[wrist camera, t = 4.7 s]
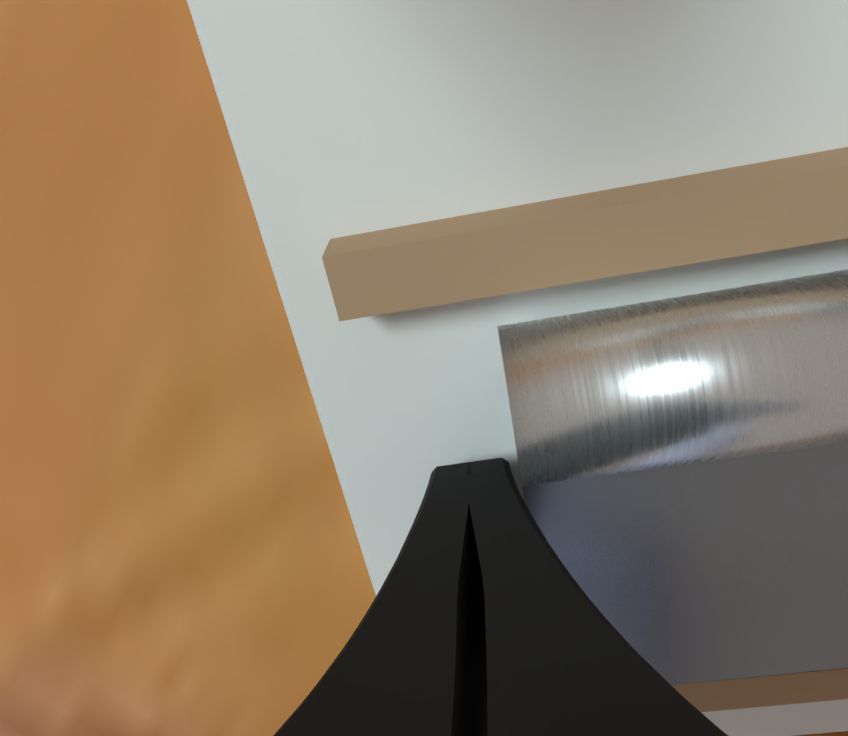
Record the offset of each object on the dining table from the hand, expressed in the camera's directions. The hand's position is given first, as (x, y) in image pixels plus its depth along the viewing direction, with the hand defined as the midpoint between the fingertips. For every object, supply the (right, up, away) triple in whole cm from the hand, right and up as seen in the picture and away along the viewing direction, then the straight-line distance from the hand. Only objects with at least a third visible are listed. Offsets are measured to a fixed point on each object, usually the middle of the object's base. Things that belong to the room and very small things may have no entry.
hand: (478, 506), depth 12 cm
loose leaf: (+4, 0, 0) cm, 4 cm away
